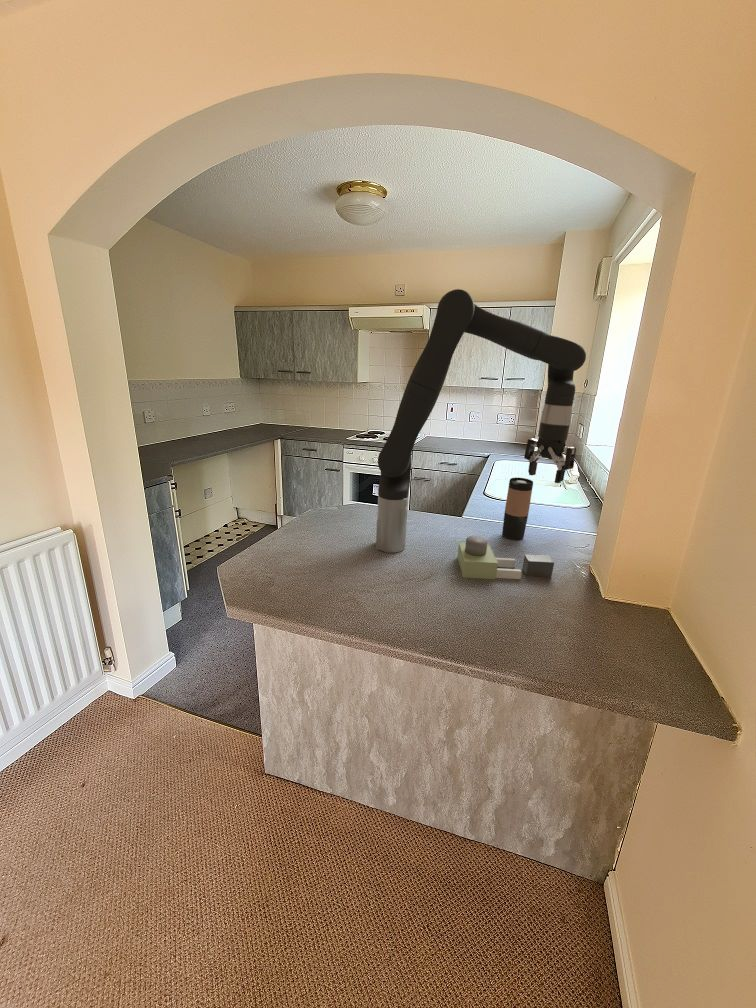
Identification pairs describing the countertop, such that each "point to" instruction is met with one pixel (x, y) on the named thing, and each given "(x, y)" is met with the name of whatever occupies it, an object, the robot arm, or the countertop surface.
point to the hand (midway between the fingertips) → (544, 478)
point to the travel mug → (517, 508)
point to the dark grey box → (538, 566)
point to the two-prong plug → (484, 561)
